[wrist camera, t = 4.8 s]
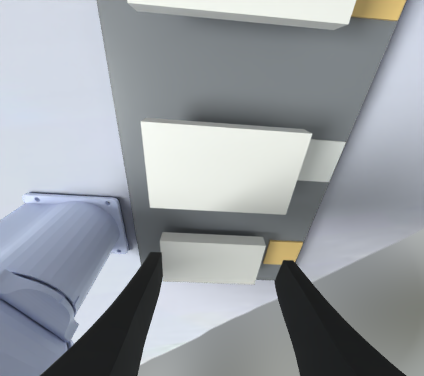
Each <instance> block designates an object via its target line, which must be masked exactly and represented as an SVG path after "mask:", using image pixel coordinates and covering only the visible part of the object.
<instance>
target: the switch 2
mask: <svg viewBox="0 0 424 376" xmlns="http://www.w3.org/2000/svg"><path fill="white" fill-rule="evenodd" d="M141 131H142V140H143V149H144V158H145V167H146V176H147V185H148V194H149V203H150V208H165V209H184V210H204V211H223V212H242V213H261V214H280V215H286V212H287V209H288V206H289V203H290V200H291V197H292V194H293V191H294V188H295V185H296V182H297V179H298V176H299V173H300V170H301V167H302V164H303V161H304V158H305V155H306V152H307V149H308V146H309V143H310V140H311V137H312V133H310V132H308V131H306V130H305V129H296V128H282V127H268V126H254V125H241V124H227V123H213V122H199V121H185V120H171V119H158V118H145V119H144V120H142V121H141Z"/></svg>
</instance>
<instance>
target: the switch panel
mask: <svg viewBox="0 0 424 376" xmlns="http://www.w3.org/2000/svg"><path fill="white" fill-rule="evenodd" d="M406 2H407V0H356V3H355V6H354V9H353V12H352V15H351V18H350V21H349V24H348V25H345V26H343V27H340V28H338V29H335V30H328V29H317V28H307V27H296V26H286V25H275V24H265V23H254V22H244V21H234V20H223V19H213V18H202V17H192V16H181V15H171V14H160V13H150V12H140V11H136V10H135V9H134V8H133V7H131V6H130V5H129V4H128V3H127V0H97V6H98V12H99V18H100V24H101V30H102V36H103V42H104V47H105V53H106V59H107V65H108V71H109V77H110V83H111V89H112V95H113V101H114V107H115V113H116V119H117V125H118V131H119V137H120V142H121V148H122V154H123V160H124V166H125V172H126V178H127V184H128V190H129V196H130V202H131V208H132V214H133V220H134V226H135V231H136V237H137V243H138V249H139V255H140V261H141V265H142V264H143V262H144V261H145V259H146V258H147V256H148V254H149V253H150V252H161V250H160V238H161V235H162V232H172V233H193V234H214V235H236V236H257V237H263V239H264V242H265V245H266V247H265V251H264V254H263V257H262V261H261V264H260V268H259V271H258V274H257V278H256V280H275V279H276V276H277V274H278V272H279V269H280V267H281V264H282V262H283V260H293V261H294V262H296V260H297V257H298V255H299V253H300V250H301V248H302V246H303V243H304V241H305V239H306V236H307V234H308V232H309V229H310V227H311V225H312V222H313V220H314V218H315V215H316V213H317V211H318V208H319V206H320V204H321V201H322V199H323V196H324V194H325V192H326V189H327V187H328V185H329V182H330V180H331V178H332V175H333V173H334V171H335V168H336V166H337V164H338V161H339V159H340V157H341V154H342V152H343V150H344V147H345V145H346V143H347V140H348V138H349V135H350V133H351V131H352V128H353V126H354V124H355V121H356V119H357V117H358V114H359V112H360V110H361V107H362V105H363V103H364V100H365V98H366V96H367V93H368V91H369V89H370V86H371V84H372V82H373V79H374V77H375V75H376V72H377V70H378V67H379V65H380V63H381V60H382V58H383V56H384V53H385V51H386V49H387V46H388V44H389V42H390V39H391V37H392V35H393V32H394V30H395V28H396V25H397V23H398V21H399V18H400V16H401V14H402V11H403V9H404V6H405V4H406ZM145 118H158V119H171V120H185V121H199V122H213V123H227V124H241V125H254V126H268V127H282V128H296V129H305V130H306V131H308V132H310V133H312V137H311V140H310V143H309V146H308V149H307V152H306V155H305V158H304V161H303V164H302V167H301V170H300V173H299V176H298V179H297V182H296V185H295V188H294V191H293V194H292V197H291V200H290V203H289V206H288V209H287V212H286V215H280V214H261V213H242V212H223V211H204V210H184V209H165V208H150V203H149V194H148V185H147V176H146V167H145V158H144V149H143V140H142V131H141V121H142V120H144V119H145Z"/></svg>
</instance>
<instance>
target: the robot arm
mask: <svg viewBox="0 0 424 376" xmlns="http://www.w3.org/2000/svg"><path fill="white" fill-rule="evenodd" d="M22 199H23V201H24V203H25V204H23V205H22V206H20V207H19V208H17V209H16V210H14V211H13V212H11V213H10V214H8V215H7V216H6V217H4V218H3V219H1V220H0V376H137V375H138V370H139V366H140V361H141V357H142V352H143V348H144V344H145V340H146V336H147V333H148V330H149V326H150V323H151V320H152V316H153V313H154V310H155V306H156V303H157V300H158V296H159V293H160V288H161V282H162V277H163V268H162V252H150V253H149V254H148V256H147V258H146V259H145V261H144V262H143V264H142V265H141V267H140V268H139V270H138V271H137V273H136V274H135V275H134V277H133V278H132V279H131V281H130V282H129V283H128V285H127V286H126V287H125V289H124V290H123V291H122V292H121V294H120V295H119V296H118V297H117V298H116V300H115V301H114V302H113V303H112V305H111V306H110V307H109V308H108V309H107V310H106V311H105V313H104V314H103V315H102V316H101V317H100V318H99V319H98V320H97V321H96V322H95V323H94V324H93V326H92V327H91V328H90V329H89V330H88V331H87V332H86V333H85V334H84V335H83V336H82V337H81V338H80V339H79V340H78V341H77V342H76V343H75V344H74V343H73V342H72V340H71V338H72V337H73V335H74V333H75V331H76V329H77V327H78V323H77V322H76V321H75V320H74V317H75V315H76V313H77V311H78V309H79V308H80V306H81V304H82V302H83V301H84V299H85V297H86V295H87V294H88V292H89V290H90V288H91V287H92V285H93V283H94V281H95V280H96V278H97V276H98V274H99V273H100V271H101V269H102V267H103V266H104V264H105V262H106V260H107V259H108V257H109V255H110V253H118V254H126V253H127V252H128V250H129V249H128V244H127V239H126V234H125V229H124V224H123V219H122V214H121V210H120V205H119V201H118V200H117V199H116V198H111V197H92V196H74V195H55V194H37V193H26V194H24V195H23V196H22ZM107 201H109V202H110V203H108V202H107ZM275 287H276V292H277V296H278V301H279V304H280V307H281V310H282V313H283V317H284V320H285V323H286V326H287V329H288V332H289V334H290V338H291V341H292V344H293V348H294V351H295V355H296V359H297V364H298V367H299V372H300V376H406V375H405V374H404V373H402V372H401V371H400V370H398V368H396V367H395V366H394V365H393V364H391V363H390V362H389V361H388V360H387V359H386V358H385V357H384V356H382V355H381V354H380V353H379V352H378V351H377V350H376V349H375V348H373V347H372V346H371V345H370V344H369V343H368V342H367V341H366V340H365V339H364V338H363V337H362V336H361V335H360V334H358V333H357V332H356V331H355V330H354V329H353V328H352V327H351V326H350V325H349V324H348V323H347V322H346V321H345V320H344V319H343V318H342V317H341V316H340V315H339V313H337V311H336V310H335V309H334V308H333V307H332V306H331V305H330V304H329V303H328V302H327V300H326V299H325V298H324V297H323V296H322V295H321V293H320V292H319V291H318V290H317V289H316V288H315V287H314V285H313V284H312V283H311V282H310V280H309V279H308V278H307V277H306V275H305V274H304V273H303V272H302V271H301V269H300V268H299V267H298V266H297V264H296V263H295V262H294V261H293V260H283V262H282V264H281V267H280V269H279V272H278V274H277V276H276V279H275Z"/></svg>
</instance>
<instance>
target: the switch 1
mask: <svg viewBox="0 0 424 376" xmlns="http://www.w3.org/2000/svg"><path fill="white" fill-rule="evenodd" d="M127 3H128V4H129V5H130V6H131V7H133V8H134V9H135V10H136V11H140V12H150V13H160V14H171V15H181V16H192V17H202V18H213V19H223V20H234V21H244V22H254V23H265V24H275V25H286V26H296V27H307V28H317V29H328V30H335V29H338V28H340V27H343V26H345V25H348V24H349V21H350V18H351V15H352V12H353V9H354V6H355V3H356V0H127Z"/></svg>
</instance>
